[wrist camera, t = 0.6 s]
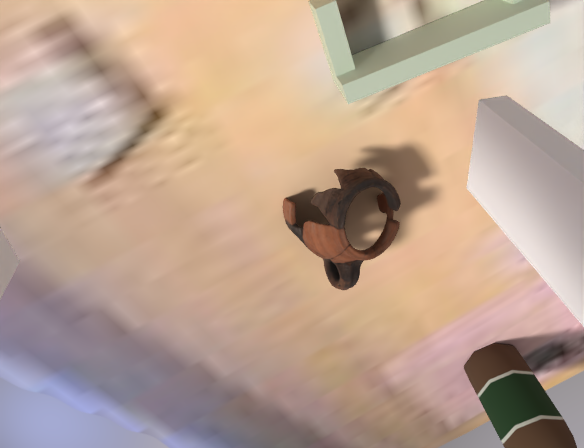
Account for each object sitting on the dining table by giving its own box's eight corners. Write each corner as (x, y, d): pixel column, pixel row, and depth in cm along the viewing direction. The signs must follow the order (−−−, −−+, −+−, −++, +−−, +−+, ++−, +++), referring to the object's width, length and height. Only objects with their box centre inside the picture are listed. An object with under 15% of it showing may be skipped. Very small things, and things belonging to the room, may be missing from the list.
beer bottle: (529, 353, 63) (669, 557, 44) (484, 385, 66) (597, 590, 47) (496, 333, 60) (631, 544, 40) (450, 368, 63) (556, 581, 43)
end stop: (308, 1, 35) (320, 15, 31) (506, -84, 33) (547, -81, 29) (334, 82, 39) (348, 104, 34) (513, 8, 37) (550, 22, 33)
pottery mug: (268, 171, 43) (321, 185, 36) (348, 147, 47) (409, 156, 41) (287, 286, 47) (338, 319, 41) (359, 255, 52) (416, 279, 45)
